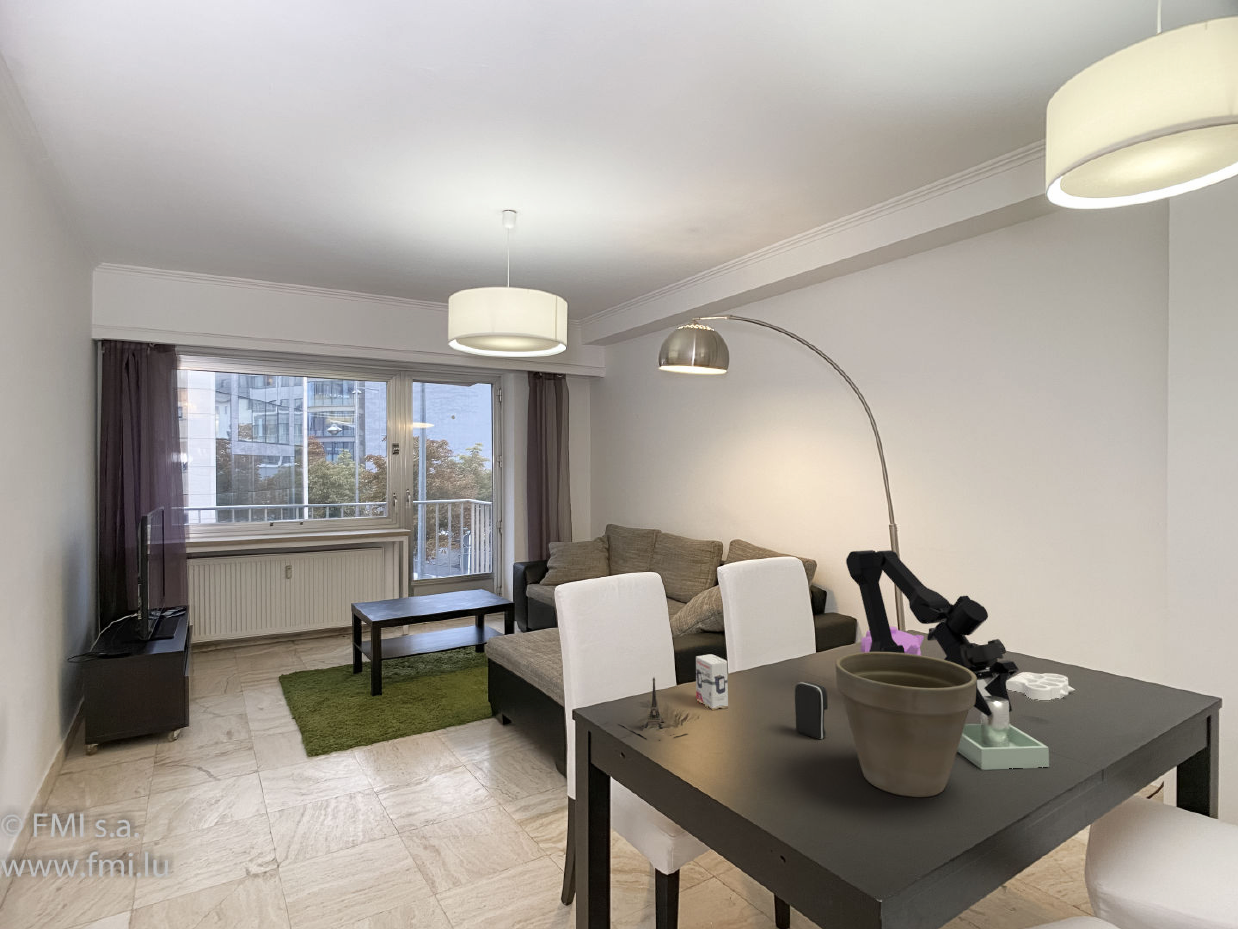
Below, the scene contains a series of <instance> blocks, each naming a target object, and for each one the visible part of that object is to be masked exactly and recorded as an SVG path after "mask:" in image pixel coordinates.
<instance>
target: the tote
mask: <svg viewBox="0 0 1238 929" xmlns="http://www.w3.org/2000/svg"><path fill="white" fill-rule="evenodd" d="M1009 735H1010V746H1009V747H990V746H987V745H985V744H983V743H982V742H981V723H965V725H964V729H963V732H962V736H961V739H960V742H959V746H958V749H957V753H959V754H960V755H962V756H963V757H964V758H966V759H967V760H968V761H969V762H971V763H973V765H975V766H976V767H978V769H980V770H981V771H982V770H985V771H986V770H987V771H988V770H1010V769H1009V768H1012V769H1011V770H1014V769H1013V768H1023V769H1039V768H1038V767H1042V768H1041V769H1044V768H1043V767H1049V768H1050V755H1049V754H1050V750H1049V747H1048V746H1047V745H1045V744H1044V743H1042V742H1041V741H1039V740H1037V739H1035V738H1034V737H1032V736H1031V735H1029V734H1028V733H1026V732H1023V731H1022V730H1020V729H1019V728H1017V727H1015V726H1013V725H1012V724H1011V723H1009Z"/></svg>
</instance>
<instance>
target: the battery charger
mask: <svg viewBox="0 0 1238 929" xmlns="http://www.w3.org/2000/svg"><path fill="white" fill-rule="evenodd" d="M794 688H795V689H794V708H795V731H796V733H797V732H798V733H799V732H800V734H802V735H804V734H805V736H807V737H810V736H811V737H810V738H813V737H814V739H818V740H823V738H825V737H826V731H825V711H826V710H828V706H829V704H828V692H827V689H826V687H824V686H823V685H820V684H817V683H814V682H810V681H803V682H799V683H797V684H795V687H794Z"/></svg>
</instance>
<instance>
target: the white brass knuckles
mask: <svg viewBox="0 0 1238 929" xmlns="http://www.w3.org/2000/svg"><path fill="white" fill-rule="evenodd" d="M1006 688H1007V689H1008V690H1012V691H1011V692H1013V691H1017V692H1016V693H1019V692H1022V693H1021V694H1023V693H1025V694H1024V696H1025V695H1026V696H1027V697H1026V696H1025V697H1026V698H1028V697H1029V698H1028V699H1030V698H1031V700H1034V699H1038V700H1037V701H1039V700H1051V699H1052V700H1055V698H1059V699H1058V700H1060V699H1064V698H1065V696H1068V695H1069V692H1073V691H1075V690H1076V689H1075V688H1073V687H1071V686H1070V685H1069V678H1068V677H1067V676H1066V675H1062V674H1059V673H1046V672H1045V673H1035V672H1030V671H1027V672H1026V671H1022V672H1020V673H1017V674H1016V675H1015V676H1014V675H1013V676H1012V677H1010V678H1009V679H1008V680H1007V681H1006ZM1008 690H1007V691H1008ZM1063 697H1064V698H1063Z"/></svg>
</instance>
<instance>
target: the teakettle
mask: <svg viewBox="0 0 1238 929" xmlns="http://www.w3.org/2000/svg"><path fill="white" fill-rule="evenodd" d="M890 630H891V634H892V638H893V640H894V641H895V642H896V644H897V645H902V646H903V647H904V651H905V653H906V654H914V655H921V656H922V652H921V645H922V644H923V640H924V639H925V636H924V635H922V634H921V635H920V634H915V635H913V634H911V633H909V632H906V631H902V630H898V628H897V627H896V626H890ZM871 645H872V639H871V634H870V630H869V629H868V630H867V631H866V633H865V636H864V637H861V643H860V653H861V652H869V651H870V648H871Z"/></svg>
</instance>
